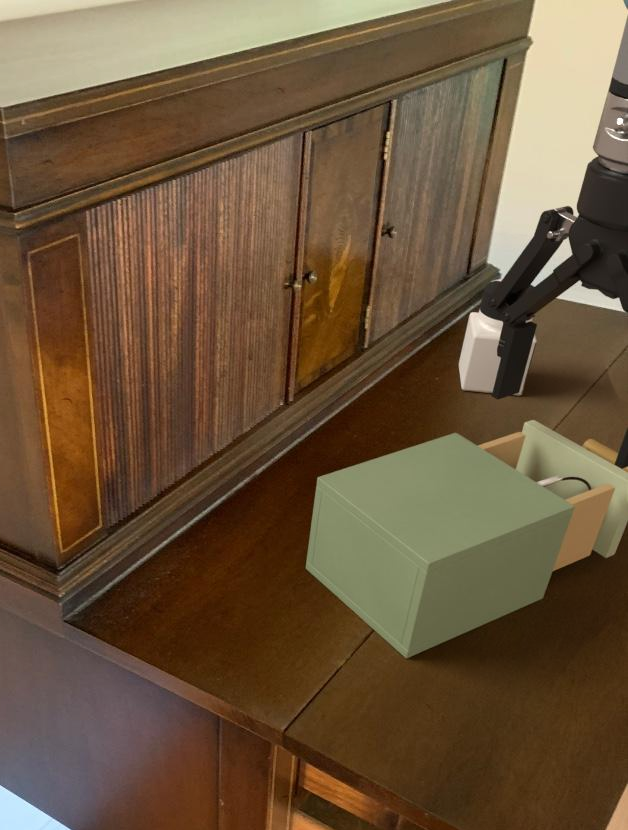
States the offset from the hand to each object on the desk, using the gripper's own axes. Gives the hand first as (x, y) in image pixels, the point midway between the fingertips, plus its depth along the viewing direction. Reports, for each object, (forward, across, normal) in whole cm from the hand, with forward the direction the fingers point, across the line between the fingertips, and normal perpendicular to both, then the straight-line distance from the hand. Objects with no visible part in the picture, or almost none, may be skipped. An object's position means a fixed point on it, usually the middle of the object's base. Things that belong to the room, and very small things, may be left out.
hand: (563, 427), depth 79 cm
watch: (+8, +1, +1) cm, 8 cm away
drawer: (+11, 0, 0) cm, 11 cm away
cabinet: (+12, 0, -13) cm, 18 cm away
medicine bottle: (+13, -26, +21) cm, 36 cm away
